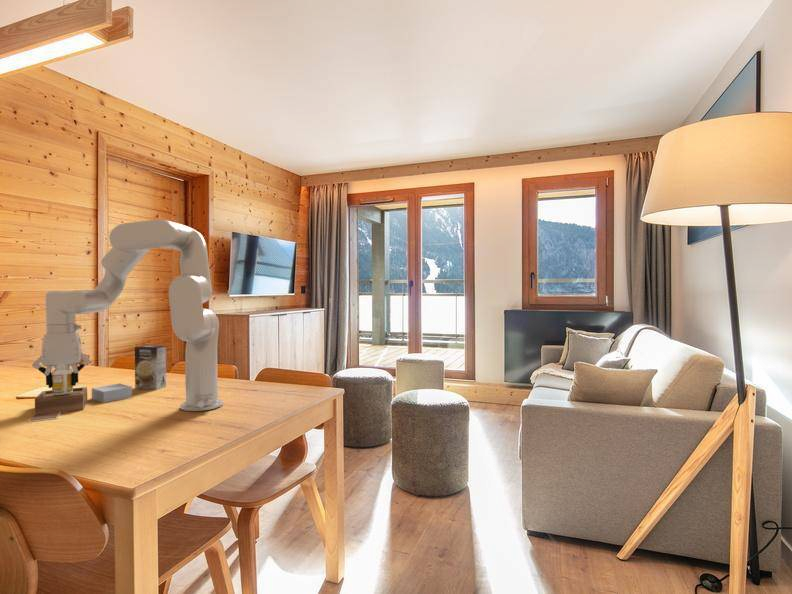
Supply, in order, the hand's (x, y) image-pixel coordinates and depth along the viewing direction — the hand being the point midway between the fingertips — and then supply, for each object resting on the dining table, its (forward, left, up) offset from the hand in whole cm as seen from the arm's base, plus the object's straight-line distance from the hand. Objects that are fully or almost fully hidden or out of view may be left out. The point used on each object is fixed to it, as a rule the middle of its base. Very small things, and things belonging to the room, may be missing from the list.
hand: (62, 385), depth 144 cm
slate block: (+7, -13, -7) cm, 17 cm away
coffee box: (+18, -25, -7) cm, 32 cm away
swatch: (-10, +3, -7) cm, 13 cm away
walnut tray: (0, 0, -7) cm, 7 cm away
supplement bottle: (0, 0, -3) cm, 3 cm away
